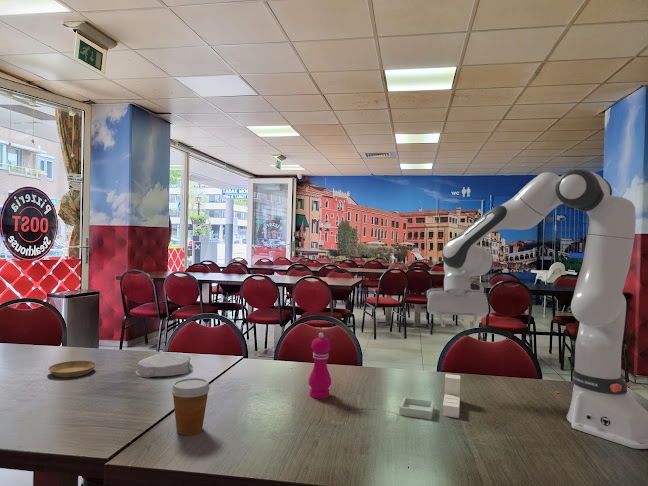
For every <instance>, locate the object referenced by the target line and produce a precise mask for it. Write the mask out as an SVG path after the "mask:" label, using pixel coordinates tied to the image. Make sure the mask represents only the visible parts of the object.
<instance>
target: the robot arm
mask: <svg viewBox="0 0 648 486" xmlns="http://www.w3.org/2000/svg"><path fill="white" fill-rule="evenodd" d="M560 205H565V206H567V207H569V208H571V209H574V210H577V211H580V212H585V213H586V214H587V216H588V229H587V233H586V241H585V246H584V254H583V257H582V258H583V259H582V264H581V268H580V269H579V274H578V276H577V281H576V283H575V288H574V292H573V296H572V299H571V303H570V310H571V314H572V315H573V317H574V318H575V320H577V322H579V323H578V324H579V326H578V331H577V337H576V339H575V342H574V343H575V347H574V350H575V351H574V368H573V370H572V379H571V380H572V381H571V382H572V388H573V389H572V394H571V395H572V396H571V401H570V405H569V408H568V412H567V414H566V419H567V421H568V422H569V423H570V424H571V428H572V429H575V430H578V431H580V432H583V433H587V434H590V435H592V436H596V437H598V438H601V439H603V440H607V441H610V442H612V443H613V442H614V443H616V444H619V445H622V446H625V447H629V448H631V449H638V450H643V449H645V450H646V449H648V410H647V409H645V408H644V407H643V406H642V405H641V404H640V403H639V402H638V401H636V399H635V398H634V397H633V396H631V394H629V392H628V388H629V387H631V384H632V382H631V381H630V382H626V381H625V380H624V379H623V377H622V376H621V375H622V374H621V373H622V372H621V371H622V351H623V350H622V349H623V341H624V332H625V326H626V325H625V323H626V316H627V315H626V314H627V300H626V297H625V295H624V293H623V291H624V288H625V285H626V280H627V276H628V273H629V271H630V267H631V261H632V254H633V249H634V242H635V234H636V226H637V224H636V221H637V220H636V218H637V216H636V206H635V205H634V203H633V202H632V201H631V200H629V199H628V198H625V197H622V196H613V189H612V186H611V184H610V182H608V180H606V179H605V178H603V177H602V176H601V175H600V174H598V173H596V172H593V171H589V170H587V169H581V168H577V169H571V170H568V171H566V172H564V173H563V174H562V175H561V176H560V175H558V174H556V173H554V172H550V171H545V172H542V173H540V174H538V175H537V176H536V177H534V178H533V179H531V180H530V181H529V182H528V183H526V185H524V186H523V187H522V188H521V189H520V190H519V191H518V192H517V193H516V194H515V195H514V196H513V197H512V198H510V199H509V200H507V201H505V202H504V203H502V204H500V205H497V206H494V207H492V208H491V209H489V210H488V211H486V212H484V214H482V215H481V216H480V217H479V218H478V219H476V220H475V221H474V222H473V223H471V224H470V225H469V226H468V227H467V228H465V229H464V230H463V231H461V233H459V234H457V235H456V236H454V237H452V238H450V239H449V240H448V241H446V243H445V244H444V245H443V247H442V254H441V256H442V259H443V272H444V279H443V287H437V288H435V287H431V288H429V289H428V290H427V291H426V299H427V309H426V311H427V312H428V314H430V315H437V319H438V320H439V322H440V327H442V328H445V327H446V320H443V318H442V317H443V315H450V316H453V315H454V316H472V318H473V320H472V321H469V328H470V329H475V327H476V325H475V324H476V322H477V320H478V318H479V317H486V316H487V315H488V314H489V312H490V311H489V302H488V297H487V294H485V291H484V290H485V288H484V285H482V284H480V283H475V282H473V281H471V280H470V279H471V278H472V277H481V276H485V275H486V274H488V273H490V271H491V270H492V268H493V265H494V257H493V254H492V252H491V251H489V250H488V249H485V248H484V247H481V246H478V245H477V244H478V243H480V242H481V241H482V240H484V239H485V238H486V237H487V236H488V235H490V234H492V233H493V232H496V231H501V230H516V231H524V230H530V229H532V228H534V227H535V226H536V225H538V224H539V223H540V222H542V221H543V220H544V219H545V218H546V217H547V216H548V215H549V214H550V213H551V212H552V211H553V210H554V209H555V208H557V207H558V206H560Z"/></svg>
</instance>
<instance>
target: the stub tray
mask: <svg viewBox="0 0 648 486" xmlns="http://www.w3.org/2000/svg"><path fill="white" fill-rule="evenodd" d="M434 409H435V401H434V400H430V399H429V400H428V399H424V398H423V399H421V398H415V397H407V396H403V399H402V400H401V403H400V405H399V409H398V410H399V414H398V415H399V416H405V417H412V418H418V419H424V420H432V419H433V415H434V414H433V413H434Z"/></svg>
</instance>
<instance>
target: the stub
mask: <svg viewBox="0 0 648 486" xmlns="http://www.w3.org/2000/svg"><path fill="white" fill-rule="evenodd" d="M444 376H445V377H444V394H449V395H457V396H460V397H461V375H459V374H450V373H445V375H444Z"/></svg>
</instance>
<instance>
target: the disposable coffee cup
mask: <svg viewBox="0 0 648 486" xmlns="http://www.w3.org/2000/svg"><path fill="white" fill-rule="evenodd" d="M210 389H211V385H210V383H209V381H208V380H207V379H205V378H201V377H200V378H199V377H189V378H188V377H187V378H181V379H179V380H175V381H174V382H173V384H172V387H171V389H170V391H171V394H172V398H173V406H174V407H173V408H174V409H173V410H174V416H175V417H174V418H175V419H174V420H175V425H176V426H175V428H176V429H175V430H176V434H178V435H182V436H191V435H192V436H193V435H197V434H199V433H201V432H202V430H203V427H204V423H205V414H206V408H207V401H208V396H209V394H208V393H209V392H210Z"/></svg>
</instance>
